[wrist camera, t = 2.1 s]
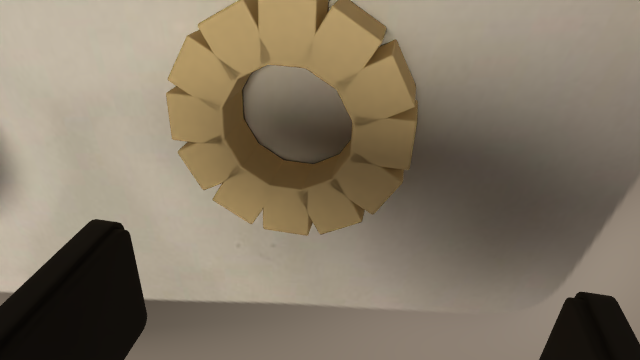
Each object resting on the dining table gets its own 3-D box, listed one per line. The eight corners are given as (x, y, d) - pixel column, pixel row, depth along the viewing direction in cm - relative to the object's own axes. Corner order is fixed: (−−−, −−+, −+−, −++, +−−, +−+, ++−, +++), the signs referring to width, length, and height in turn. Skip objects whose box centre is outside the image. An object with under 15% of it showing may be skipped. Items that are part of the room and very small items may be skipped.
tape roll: (434, -3, 17) (436, 8, 15) (398, 219, 22) (396, 250, 20) (181, -21, 18) (150, -14, 16) (202, 190, 23) (181, 216, 21)
